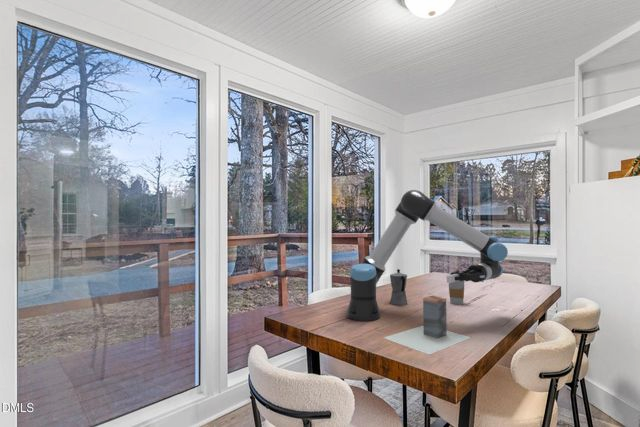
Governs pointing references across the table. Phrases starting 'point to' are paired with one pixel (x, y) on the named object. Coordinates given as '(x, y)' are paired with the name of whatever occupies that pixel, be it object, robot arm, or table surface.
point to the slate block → (434, 316)
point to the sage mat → (425, 340)
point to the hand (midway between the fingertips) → (448, 279)
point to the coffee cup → (456, 292)
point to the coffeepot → (398, 288)
